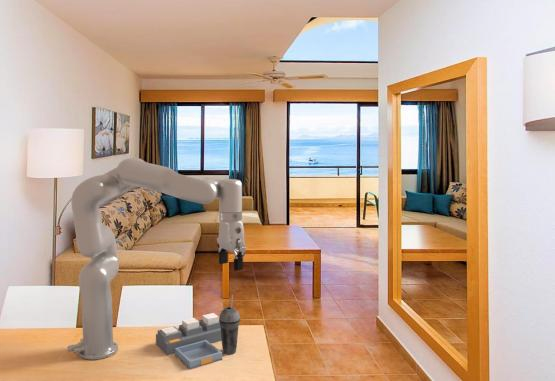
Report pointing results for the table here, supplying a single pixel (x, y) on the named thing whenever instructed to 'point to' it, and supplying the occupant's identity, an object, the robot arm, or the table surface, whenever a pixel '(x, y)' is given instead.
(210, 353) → the tray
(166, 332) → the block
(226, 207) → the robot arm
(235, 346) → the beverage cup
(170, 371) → the table surface
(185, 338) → the grey switch block
